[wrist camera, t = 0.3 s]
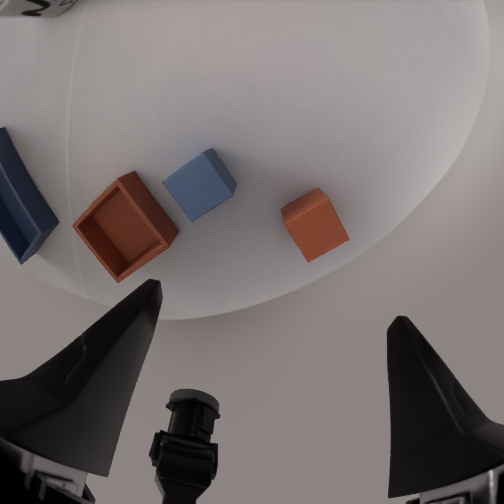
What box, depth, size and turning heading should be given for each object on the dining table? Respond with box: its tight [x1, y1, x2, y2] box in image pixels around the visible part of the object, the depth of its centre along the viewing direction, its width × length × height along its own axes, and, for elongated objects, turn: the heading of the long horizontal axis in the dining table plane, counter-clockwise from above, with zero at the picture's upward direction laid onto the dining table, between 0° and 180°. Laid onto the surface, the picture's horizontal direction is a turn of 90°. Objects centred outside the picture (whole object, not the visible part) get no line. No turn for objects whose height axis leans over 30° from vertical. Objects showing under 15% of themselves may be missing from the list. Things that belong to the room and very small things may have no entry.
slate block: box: [162, 148, 237, 222], centre depth 22 cm, size 4×4×4 cm
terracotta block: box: [281, 188, 349, 262], centre depth 23 cm, size 4×4×4 cm
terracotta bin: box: [72, 171, 179, 283], centre depth 24 cm, size 8×8×3 cm
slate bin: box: [0, 127, 59, 265], centre depth 22 cm, size 8×16×3 cm, turn 33°
